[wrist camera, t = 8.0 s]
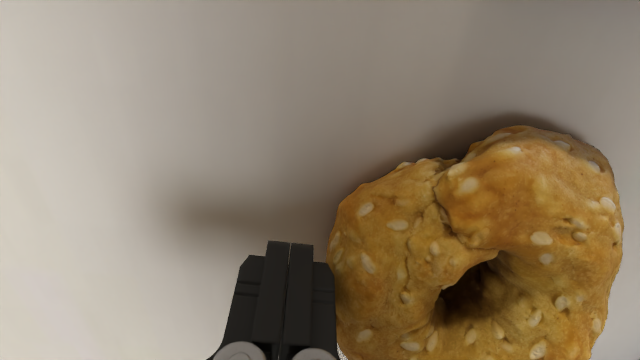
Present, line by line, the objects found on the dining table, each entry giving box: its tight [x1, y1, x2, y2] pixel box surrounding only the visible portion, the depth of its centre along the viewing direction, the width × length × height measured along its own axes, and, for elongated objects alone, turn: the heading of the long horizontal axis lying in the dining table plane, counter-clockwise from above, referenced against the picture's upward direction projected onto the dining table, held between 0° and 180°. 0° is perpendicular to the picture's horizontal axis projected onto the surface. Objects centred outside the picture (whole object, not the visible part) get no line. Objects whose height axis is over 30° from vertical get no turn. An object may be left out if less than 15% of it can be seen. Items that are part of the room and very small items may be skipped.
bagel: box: [326, 125, 624, 360], centre depth 13 cm, size 10×11×5 cm
